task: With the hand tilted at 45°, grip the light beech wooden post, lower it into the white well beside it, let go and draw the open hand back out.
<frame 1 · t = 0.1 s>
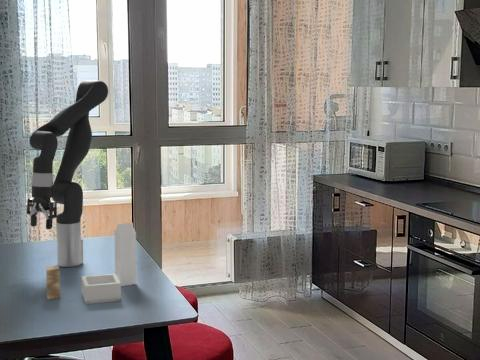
hand: (41, 227, 230), 17 cm above the table, tool pointing down, fingers open, 8 cm apart
white well: (101, 297, 205), on the table
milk: (125, 283, 220), on the table
beech post: (53, 296, 204), on the table
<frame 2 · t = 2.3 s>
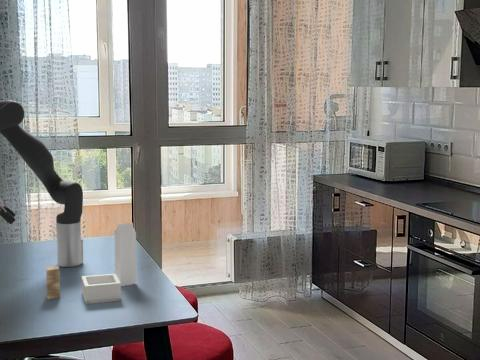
hand: (13, 219, 197), 27 cm above the table, tool tilted 45°, fingers open, 8 cm apart
nothing on the table moved.
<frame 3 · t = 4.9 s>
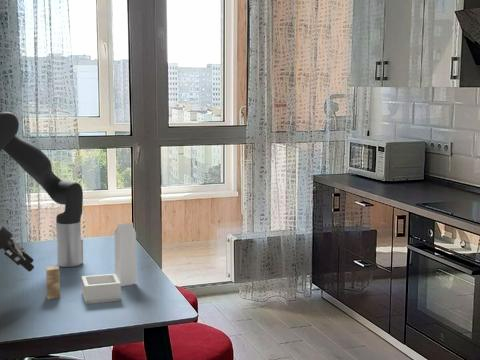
hand: (32, 265, 201), 11 cm above the table, tool tilted 45°, fingers open, 8 cm apart
nothing on the table moved.
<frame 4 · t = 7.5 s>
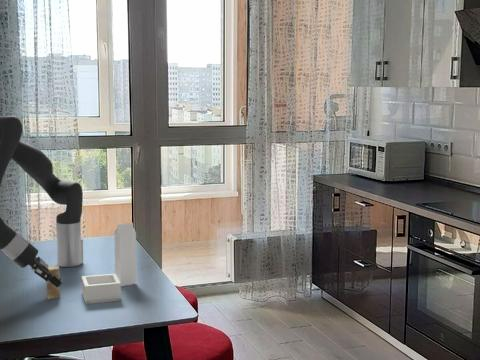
hand: (59, 282, 204), 5 cm above the table, tool tilted 45°, fingers closed on beech post, 4 cm apart
beech post: (53, 296, 204), on the table, touching gripper
everything else where it was.
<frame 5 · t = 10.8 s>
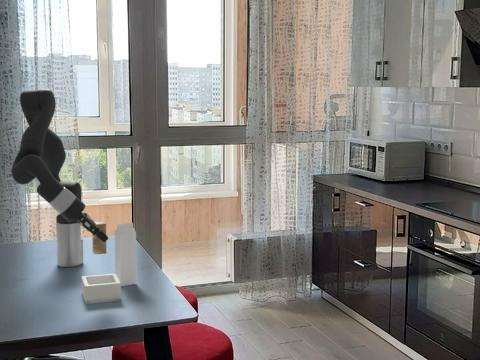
hand: (105, 238, 203), 20 cm above the table, tool tilted 45°, fingers closed on beech post, 4 cm apart
beech post: (99, 252, 203), point 15 cm above the table, touching gripper
everything else where it was.
when the fingers open (8 cm above the table, at t = 14.0 s): beech post drops 2 cm, resting on white well.
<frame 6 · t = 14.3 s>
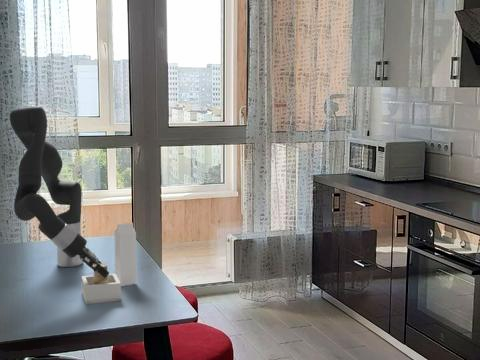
hand: (105, 272, 204), 8 cm above the table, tool tilted 45°, fingers open, 6 cm apart
beech post: (100, 294, 204), point 1 cm above the table, touching white well
everything else where it was.
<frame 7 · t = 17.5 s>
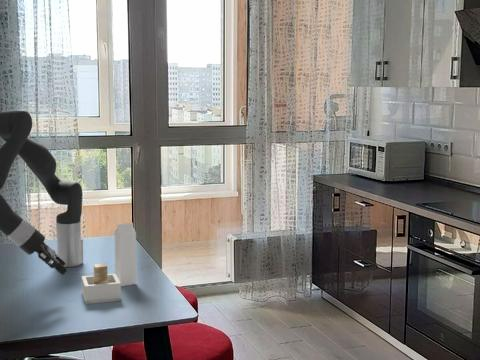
hand: (64, 268, 199), 11 cm above the table, tool tilted 45°, fingers open, 8 cm apart
nothing on the table moved.
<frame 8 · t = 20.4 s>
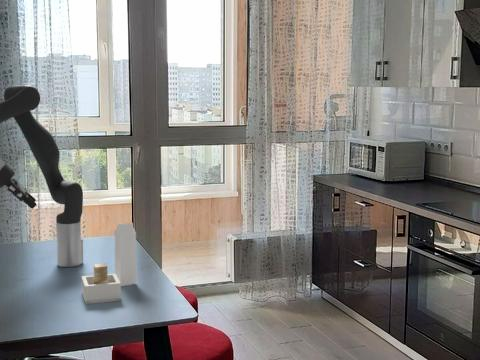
hand: (34, 204, 203), 31 cm above the table, tool tilted 45°, fingers open, 8 cm apart
nothing on the table moved.
at the end: beech post 0.1 cm off-centre on the white well, point 1.0 cm above the white well's base; beech post tilted 0°; the gripper is holding nothing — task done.
